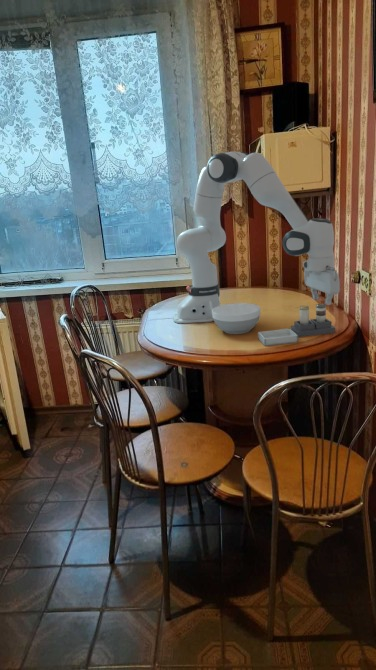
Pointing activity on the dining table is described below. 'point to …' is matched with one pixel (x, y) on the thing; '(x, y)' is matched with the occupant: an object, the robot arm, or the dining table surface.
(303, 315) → the fuse
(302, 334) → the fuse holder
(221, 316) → the bowl
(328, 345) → the dining table surface
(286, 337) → the parts tray
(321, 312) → the fuse
